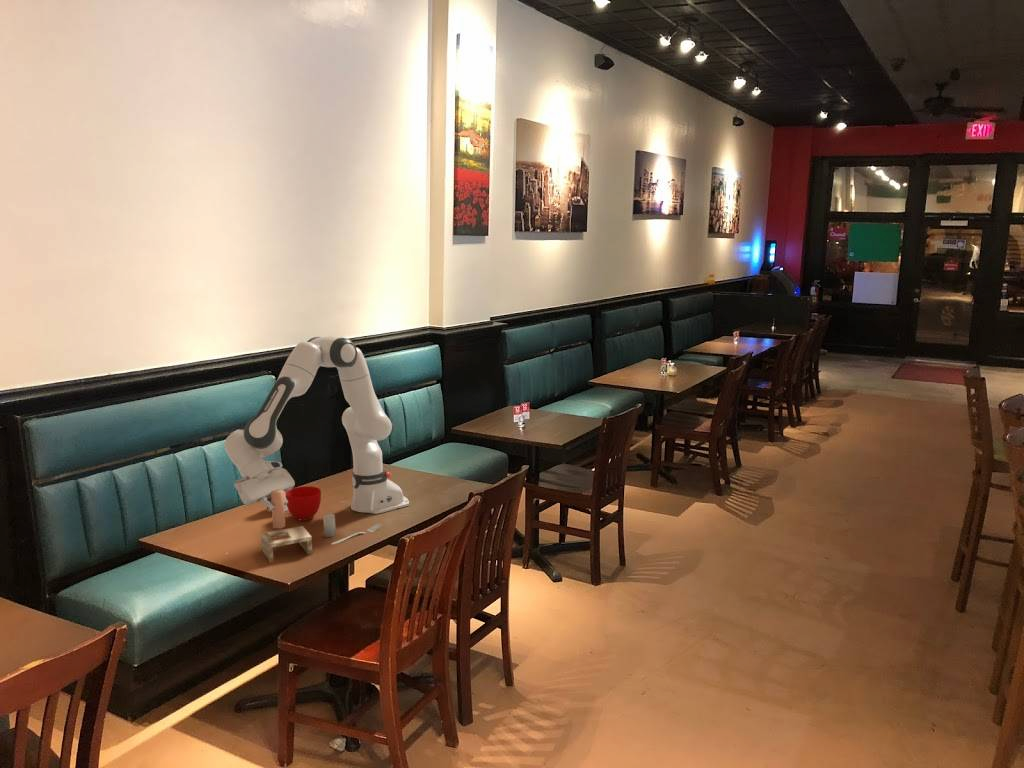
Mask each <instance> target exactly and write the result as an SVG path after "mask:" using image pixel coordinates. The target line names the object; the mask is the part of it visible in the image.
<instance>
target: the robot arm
mask: <svg viewBox="0 0 1024 768" xmlns="http://www.w3.org/2000/svg"><path fill="white" fill-rule="evenodd" d="M320 367H323V368H324V367H325V368H336V369H337V372H338V376H339V382H340V384H341V389H342V392H343V393H342V394H343V395H344V399H345V401H346V402H347V403H348V404H349V406H350V407H347V408H346V409H345V410H344V411H343V413H342V416H341V422H342V425H343V427H344V429H345V430H346V433H347V436H348V440H349V444H350V446H351V452H352V462H353V463H352V466H353V471H352V480H351V481H352V486H353V491H352V492H353V494H352V499H351V505H350V509H351V510H352V511H355V512H357V513H368V514H375V515H377V514H382V513H385V512H389V511H394V510H396V509H397V508H398V509H402V508H405V507H408V506H409V505H410V501H409V499H408V498H407V497H406V496H404V494H403V490H402V488H401V487H400V486H399V485H398V484H396V483H395V482H394V481H392V480H390V479H391V478H392V477H393V476H392V473H391V472H389V471H387V470H385V469H383V467H384V466H383V451H382V449H381V446H380V445H379V443H378V441H383V440H386V439H387V438H388V437H389V436H390V434H391V432H392V430H393V424H392V421H391V419H390V418H389V417H388V415H387V414H386V413H385V411H384V409H383V407H382V406H381V403H380V401H379V399H378V397H377V395H376V393H375V390H374V387H373V382H372V378H371V374H370V370H369V367H368V363H367V361H366V359H365V356H364V353H363V352H362V350H361V349H360V348H359V347H356V344H355V343H354V342H353V341H352V340H351V339H348V338H345V337H339V336H332V335H331V336H329V335H328V336H314V337H311V338H309V339H308V340H307V341H301V342H299V343H297V344H296V346H295V347H293V349H292V351H291V353H290V354H289V356H287V359H286V361H285V363H284V365H283V366H282V369H281V371H280V373H279V376H278V378H277V379H276V381H275V383H274V385H273V386H272V388H271V390H270V391H269V392H268V395H267V397H266V399H265V400H264V401H263V404H262V405H261V407H260V409H259V411H258V412H257V413H256V414H255V415H254V416H253V417H251V419H249V421H247V423H246V424H245V425H244V428H243V429H236V430H234V431H232V432H231V433H230V434H229V435H227V437H226V439H225V440H224V444H223V446H224V449H225V451H226V452H225V453H227V455H228V457H229V459H230V460H231V462H232V463H233V465H235V466H236V467H237V469H238V472H239V473H240V476H241V477H242V478H240V479H239V478H238V479H237V480H235V482H234V484H233V485H234V487H235V489H236V491H237V493H238V495H239V498H240V499H241V501H242V503H243V504H244V505H245V506H247V507H249V506H251V505H254V504H257V503H260V504H261V505H263V506H265V507H266V508H267V507H268V508H269V510H270V511H271V510H274V509H275V508H276V506H275V505H274V503H270V502H269V501H268V500H267V499H268V498H271V491H273V490H283V491H284V505H286V504H287V503H288V501H287V499H286V493H285V492H287V491H290V490H291V489H292V488H295V485H296V482H295V480H294V479H293V477H292V475H291V474H290V472H289V471H288V470H287V469H285V468H284V467H283V463H282V462H280V461H272V460H271V461H270V460H265V458H267V457H270V456H271V455H274V454H275V453H277V452H279V451H280V449H281V448H282V446H283V443H284V439H283V434H282V433H281V432H280V430H279V429H278V428H277V421H278V419H279V417H280V415H281V413H283V412H282V411H283V410H284V408H285V406H286V404H287V402H288V401H290V399H292V398H295V397H301V396H302V395H305V394H306V392H307V391H308V389H309V388H311V385H312V383H313V381H314V379H315V377H316V375H317V372H318V369H319V368H320ZM398 509H397V510H398ZM270 511H269V512H270Z"/></svg>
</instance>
